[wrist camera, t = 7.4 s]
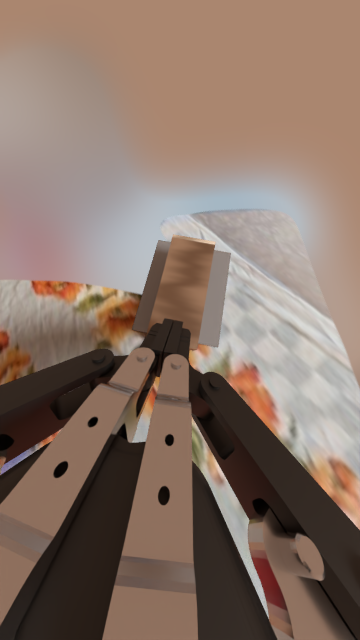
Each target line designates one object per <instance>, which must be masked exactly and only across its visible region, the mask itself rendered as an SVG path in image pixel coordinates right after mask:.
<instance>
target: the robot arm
mask: <svg viewBox="0 0 360 640" xmlns="http://www.w3.org/2000/svg"><path fill="white" fill-rule="evenodd" d="M182 327H183V322H182V321H177V320H172V319H167V318H164V320H163V323H162V324H160V323H156V324H154V325H153V326H152V327H151V329H150V331H149V332H148V335H147V336H146V337H145V339H144V341H143V343H142V344H141V346H140V348H137V349H135V350H133V351H132V352H131V353H130V355H125V356H114V355H113V352H112V351H110V350H108V349H97V350H94V351H91V352H89V353H86V354H83V355H81V356H78V357H75V358H73V359H70V360H67V361H65V362H62V363H59V364H57V365H54V366H51V367H49V368H46V369H43V370H40V371H38V372H35V373H32V374H30V375H27V376H24V377H22V378H19V379H16V380H14V381H11V382H8V383H6V384H3V385H0V474H1V468H2V467H3V465H4V464H5V463H7V462H9V461H10V460H12V459H13V458H15V457H17V456H18V455H20V454H21V453H23V452H25V451H26V450H28V449H29V448H31V447H33V446H34V445H36V444H37V443H39V442H41V441H42V440H44V439H46V438H47V437H49V436H50V435H52V434H54V433H55V432H57V431H58V430H60V429H62V428H63V429H62V430H61V431H60V432H59V433H58V435H57V436H56V437H55V438H54V440H53V441H51V442H50V443H48V444H46V445H45V446H43V447H42V448H40V449H39V450H37V451H36V452H34V453H33V454H31V455H30V456H28V457H27V458H25V459H24V460H22V461H21V462H19V463H18V464H16V465H15V466H13V467H12V468H10V469H9V470H7V471H6V472H4V473H3V474H1V475H0V640H360V530H359V529H358V528H357V527H356V526H355V525H354V523H353V522H352V521H351V520H350V519H349V518H348V517H347V516H346V514H345V513H344V512H343V511H342V510H341V509H340V508H339V507H338V506H337V504H336V503H335V502H334V501H333V500H332V499H331V498H330V497H329V495H328V494H327V493H326V492H325V491H324V490H323V489H322V488H321V486H320V485H319V484H318V483H317V482H316V481H315V480H314V479H313V477H312V476H311V475H310V474H309V473H308V472H307V471H306V470H305V469H304V467H303V466H302V465H301V464H300V463H299V462H298V461H297V460H296V458H295V457H294V456H293V455H292V454H291V453H290V452H289V451H288V449H287V448H286V447H285V446H284V445H283V444H282V443H281V442H280V441H279V439H278V438H277V437H276V436H275V435H274V434H273V433H272V432H271V430H270V429H269V428H268V427H267V426H266V425H265V424H264V423H263V421H262V420H261V419H260V418H259V417H258V416H257V415H256V414H255V412H254V411H253V410H252V409H251V408H250V407H249V406H248V405H247V404H246V402H245V401H244V400H243V399H242V398H241V397H240V396H239V395H238V393H237V392H236V391H235V390H234V389H233V388H232V387H231V386H230V384H229V383H228V382H227V381H226V380H225V379H224V378H223V377H222V376H221V375H219V374H217V373H215V372H207V373H205V374H202V373H200V372H198V371H196V370H195V369H193V368H192V366H191V365H190V363H189V360H188V358H189V348H190V339H191V333H190V331H189V329H185V328H182ZM160 375H161V378H160V383H159V387H158V392H157V396H156V398H155V402H154V407H153V412H152V416H151V421H150V426H149V430H148V435H147V440H146V442H139V443H132V441H133V438H134V435H135V432H136V429H137V425H138V421H139V419H140V416H141V414H142V411H143V409H144V407H145V404H146V402H147V399H148V397H149V395H150V392H151V390H152V387H153V383H154V380H155V377H160ZM191 415H192V417H193V419H194V421H195V423H196V424H197V426H198V428H199V430H200V432H201V433H202V435H203V437H204V439H205V441H206V442H207V444H208V446H209V448H210V450H211V452H212V453H213V455H214V457H215V459H216V461H217V462H218V464H219V466H220V468H221V470H222V471H223V473H224V475H225V477H226V479H227V480H228V482H229V484H230V486H231V488H232V489H233V491H234V493H235V495H236V497H237V499H238V500H239V502H240V504H241V506H242V508H243V509H244V511H245V513H246V515H247V517H248V518H249V520H250V521H249V524H248V544H249V550H250V554H251V557H252V561H253V564H254V566H255V569H256V571H257V574H258V576H259V579H260V581H261V584H262V587H263V590H264V594H265V598H266V602H267V607H268V613H269V619H268V617H267V614H266V612H265V610H264V608H263V605H262V603H261V601H260V599H259V596H258V594H257V592H256V590H255V587H254V585H253V583H252V581H251V578H250V576H249V574H248V572H247V569H246V567H245V565H244V563H243V560H242V558H241V556H240V554H239V551H238V549H237V547H236V545H235V542H234V540H233V538H232V536H231V533H230V531H229V529H228V527H227V524H226V522H225V520H224V518H223V515H222V513H221V511H220V509H219V506H218V504H217V502H216V500H215V497H214V495H213V493H212V491H211V488H210V486H209V484H208V482H207V480H206V479H205V477H204V475H203V474H202V472H201V471H200V469H199V468H198V467H197V466H196V464H195V463H194V462H193V461H192V423H191Z"/></svg>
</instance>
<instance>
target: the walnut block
mask: <svg viewBox="0 0 360 640" xmlns="http://www.w3.org/2000/svg"><path fill="white" fill-rule="evenodd" d="M214 248H215V242H213V241H207V240H202V239H196V238H190V237H185V236H179V235H173V237H172V241H171V244H170V248H169V252H168V256H167V259H166V263H165V267H164V270H163V274H162V278H161V282H160V285H159V289H158V293H157V296H156V300H155V304H154V307H153V311H152V315H151V319H150V322H149V326H148V330H147V333H146V336H147V335H148V332H149V331H150V329H151V327H152V326H153V325H154V324H156V323H160V324H162V323H163V320H164V318H167V319H172V320H177V321H182V322H183V327H182V328H185V329H189V331H190V333H191V339H190V348H189V350H192V351H193V350H197V347H198V341H199V336H200V330H201V324H202V318H203V312H204V306H205V300H206V295H207V289H208V283H209V277H210V271H211V265H212V260H213V254H214Z"/></svg>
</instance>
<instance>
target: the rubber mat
mask: <svg viewBox="0 0 360 640" xmlns="http://www.w3.org/2000/svg"><path fill="white" fill-rule="evenodd" d="M170 244H171V242H166V241H161V240H159V241H158V244H157V247H156V250H155V254H154V257H153V261H152V264H151V267H150V271H149V274H148V277H147V281H146V284H145V287H144V291H143V294H142V297H141V301H140V304H139V307H138V311H137V314H136V317H135V321H134V324H133V327H132V330H136V331H141V332H146V333H147V330H148V326H149V322H150V319H151V315H152V311H153V307H154V304H155V300H156V296H157V293H158V289H159V285H160V282H161V278H162V274H163V270H164V267H165V263H166V259H167V256H168V252H169V248H170ZM230 255H231V253H227V252H222V251H216V250H214V254H213V260H212V265H211V271H210V277H209V283H208V289H207V295H206V300H205V306H204V312H203V318H202V324H201V330H200V336H199V341H198V344H203V345H208V346H213V347H218V344H219V337H220V330H221V322H222V315H223V307H224V300H225V292H226V285H227V277H228V270H229V262H230Z"/></svg>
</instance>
